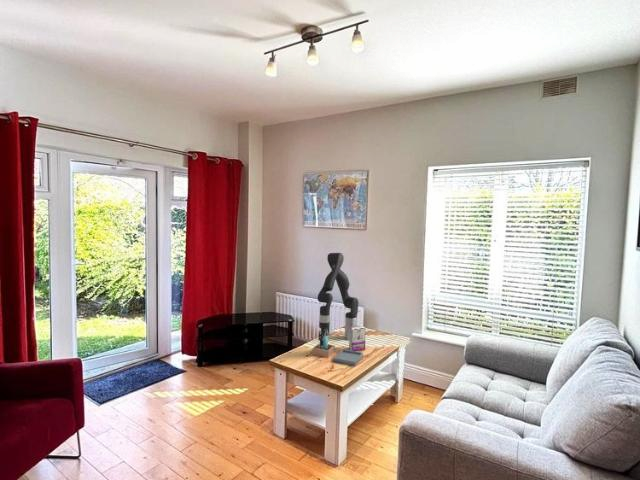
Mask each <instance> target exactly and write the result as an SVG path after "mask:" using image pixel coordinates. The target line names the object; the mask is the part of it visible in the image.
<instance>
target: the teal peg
mask: <svg viewBox="0 0 640 480" xmlns="http://www.w3.org/2000/svg"><path fill="white" fill-rule="evenodd" d="M322 338H323V337H322ZM328 341H329V336H326V335H325V337H324V339H323V346H321V348H320V349H323V350H328V343H329V342H328Z"/></svg>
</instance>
